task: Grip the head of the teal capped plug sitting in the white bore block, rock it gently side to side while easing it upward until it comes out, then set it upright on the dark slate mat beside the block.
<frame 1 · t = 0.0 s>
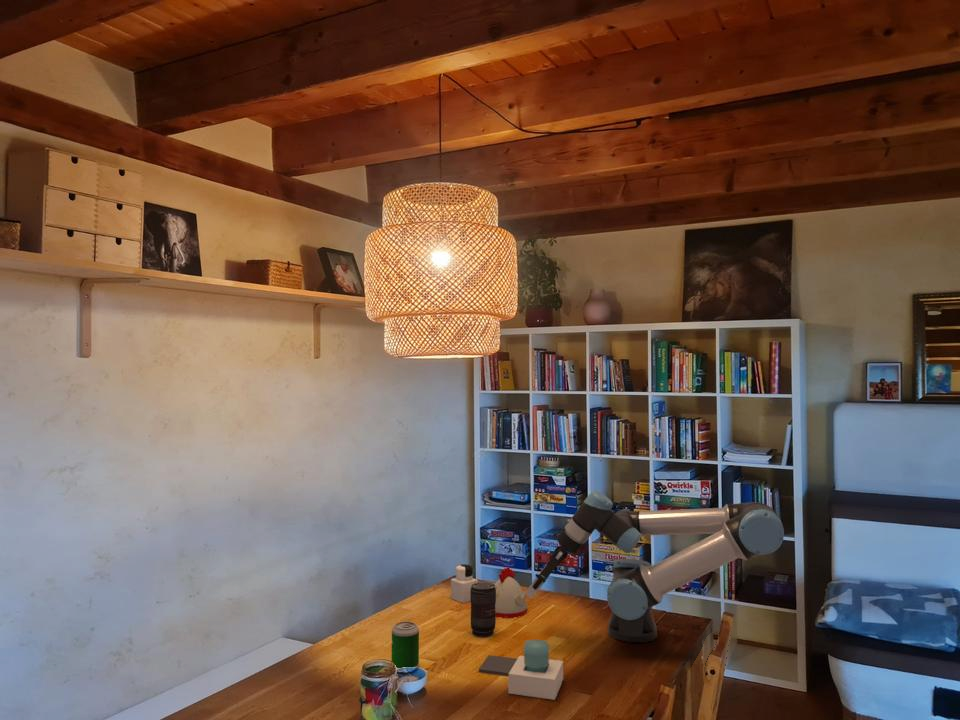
hand: (533, 589, 217), 15 cm above the table, tool tilted 35°, fingers open, 13 cm apart
kitchen timer: (506, 612, 242), on the table
soda can: (405, 669, 194), on the table
bore block: (536, 686, 184), on the table
camera lens: (483, 633, 221), on the table
capped plug: (536, 665, 184), in the bore block
medicine bottle: (464, 599, 255), on the table
slate mat: (500, 667, 196), on the table
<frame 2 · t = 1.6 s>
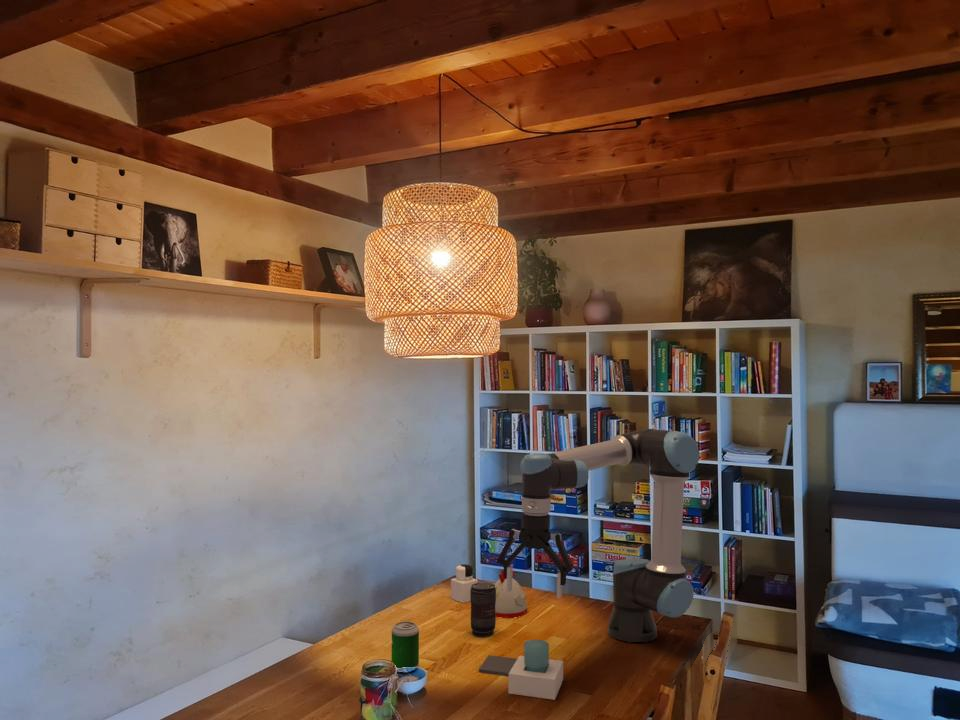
hand: (534, 594, 186), 24 cm above the table, tool pointing down, fingers open, 13 cm apart
nothing on the table moved.
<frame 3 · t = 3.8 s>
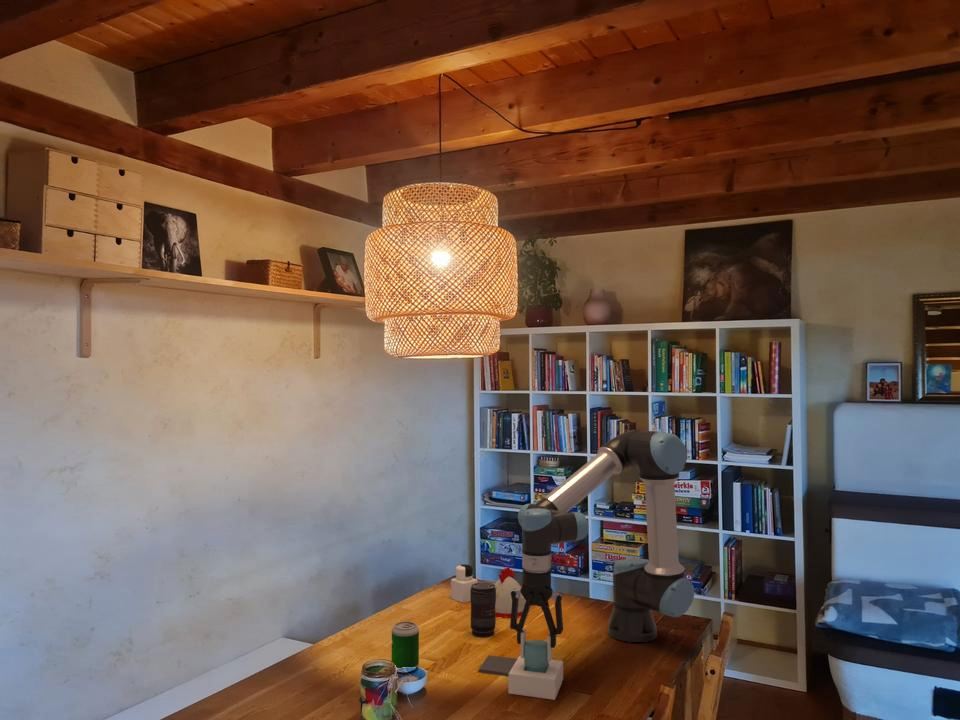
hand: (536, 657, 184), 7 cm above the table, tool pointing down, fingers closed on capped plug, 6 cm apart
capped plug: (536, 665, 184), in the bore block, touching gripper
everything else where it was.
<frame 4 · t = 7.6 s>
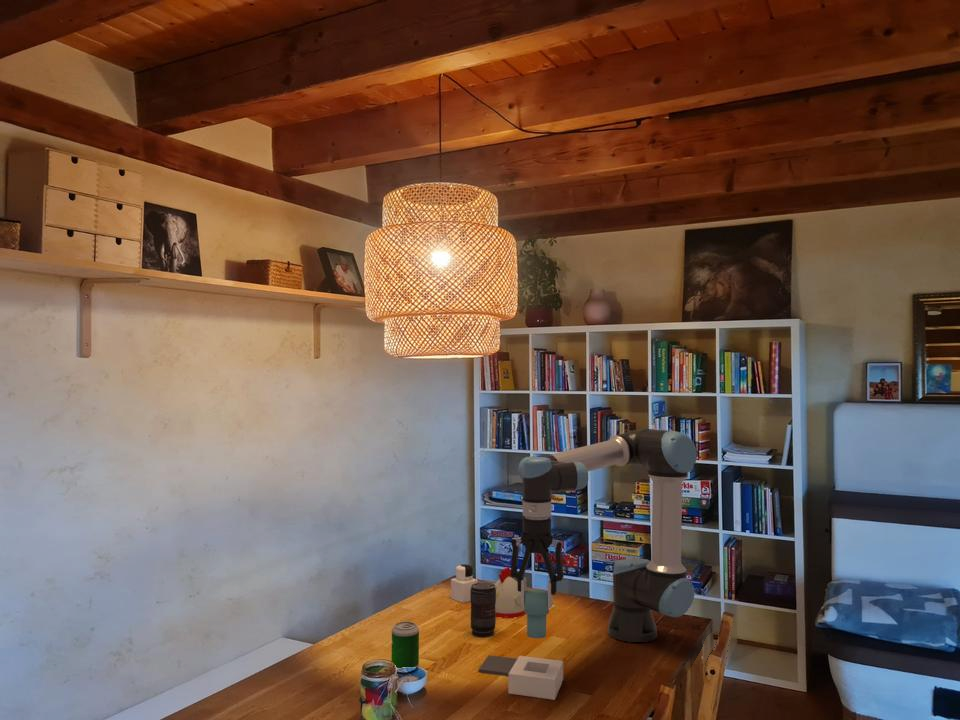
hand: (536, 605, 184), 21 cm above the table, tool pointing down, fingers closed on capped plug, 6 cm apart
capped plug: (536, 613, 184), point 19 cm above the table, touching gripper
everything else where it was.
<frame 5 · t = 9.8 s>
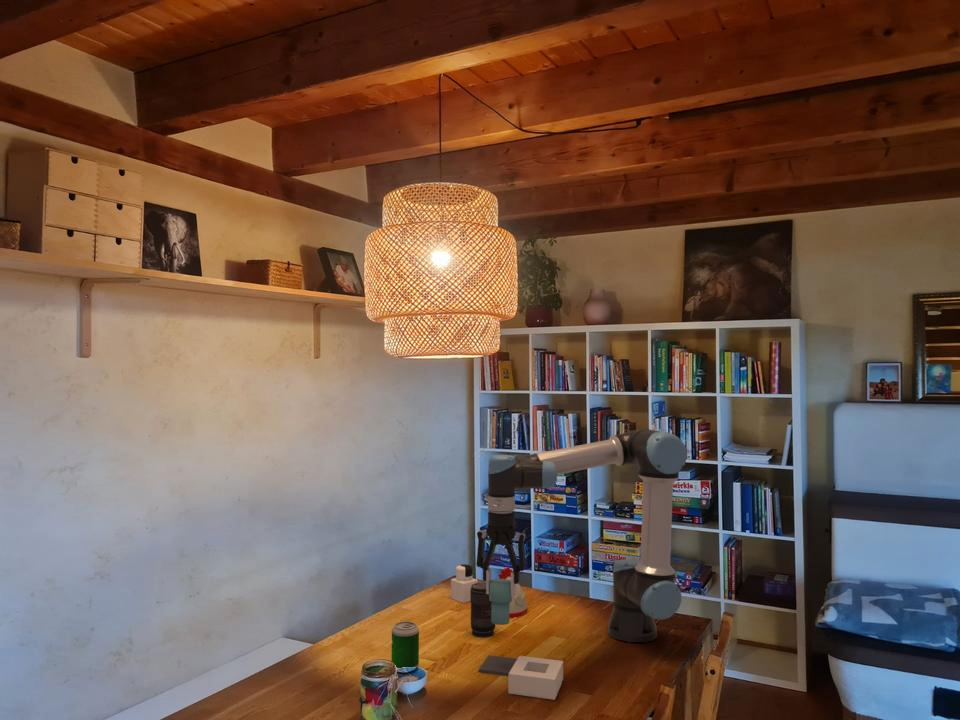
hand: (500, 593, 196), 20 cm above the table, tool pointing down, fingers closed on capped plug, 6 cm apart
capped plug: (500, 601, 196), point 18 cm above the table, touching gripper
everything else where it was.
when the fingers open (10 cm above the table, at t = 11.8 s): capped plug drops 2 cm, resting on slate mat.
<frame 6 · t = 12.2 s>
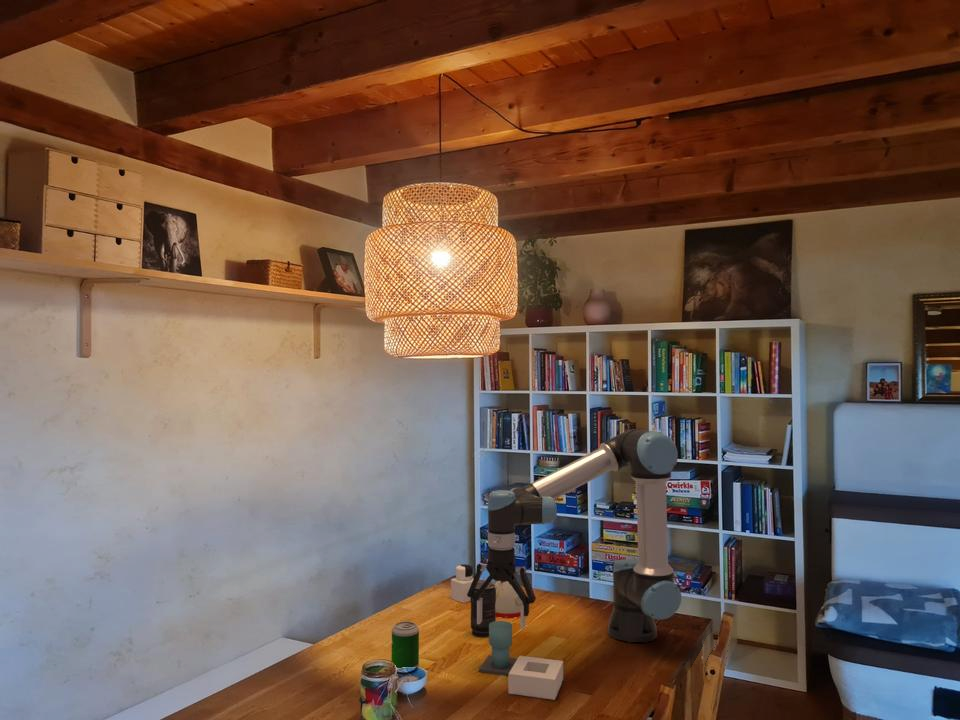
hand: (501, 625, 196), 12 cm above the table, tool pointing down, fingers open, 12 cm apart
capped plug: (500, 644, 195), on the slate mat, point 6 cm above the table
everything else where it was.
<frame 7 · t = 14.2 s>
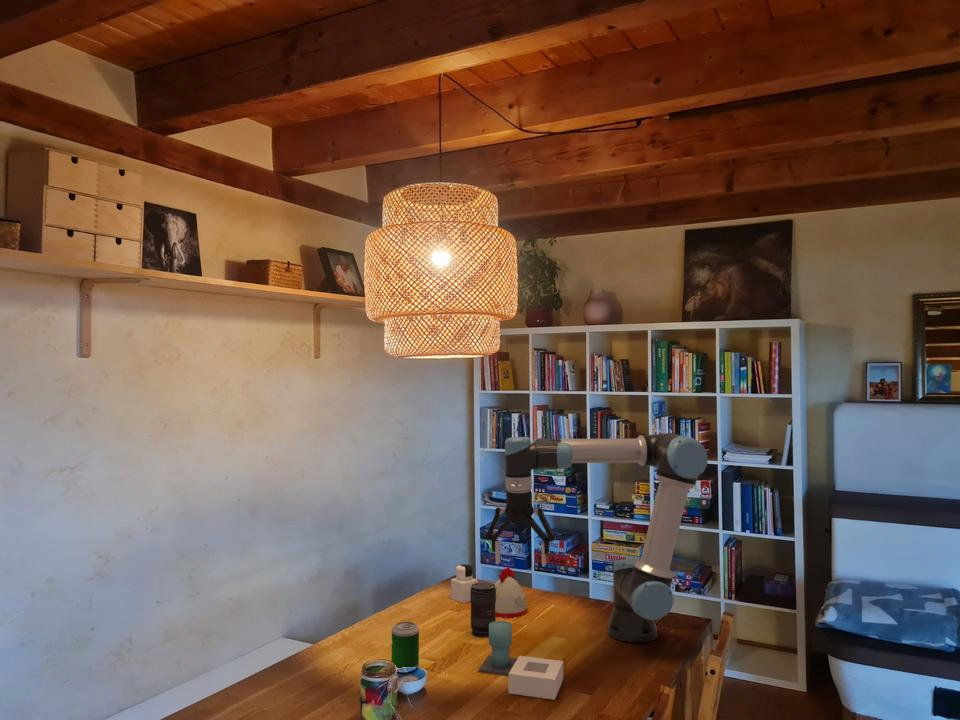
hand: (520, 564, 204), 26 cm above the table, tool pointing down, fingers open, 13 cm apart
nothing on the table moved.
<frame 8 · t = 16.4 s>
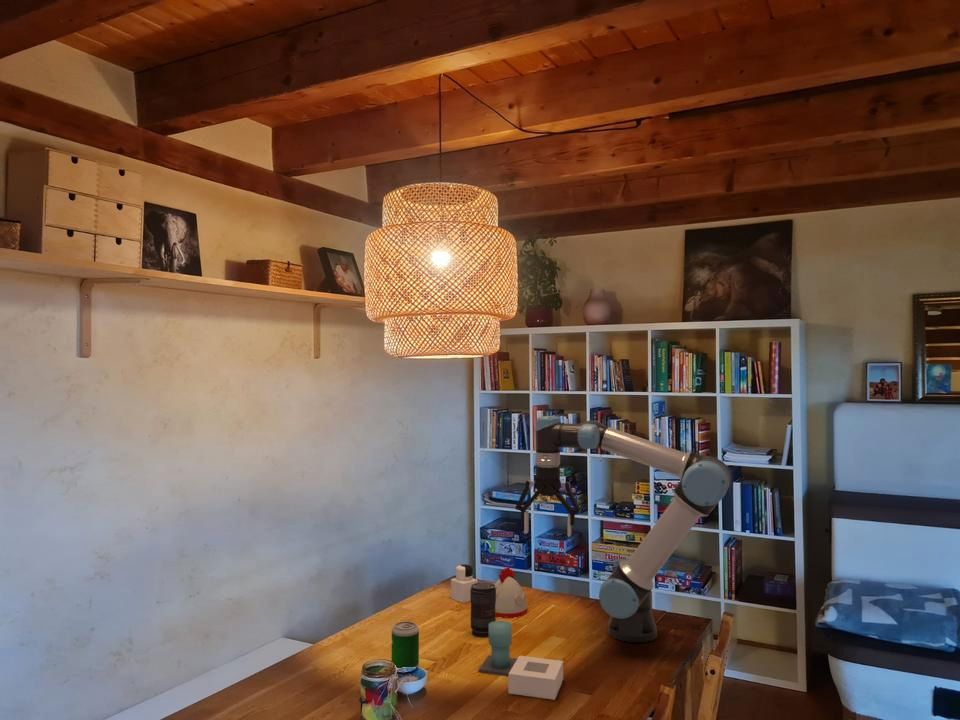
hand: (547, 534, 219), 32 cm above the table, tool pointing down, fingers open, 13 cm apart
nothing on the table moved.
at the end: capped plug inside the target area on the slate mat (0.5 cm from its centre), point 6.3 cm above the slate mat's base; capped plug tilted 1°; capped plug touching slate mat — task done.
